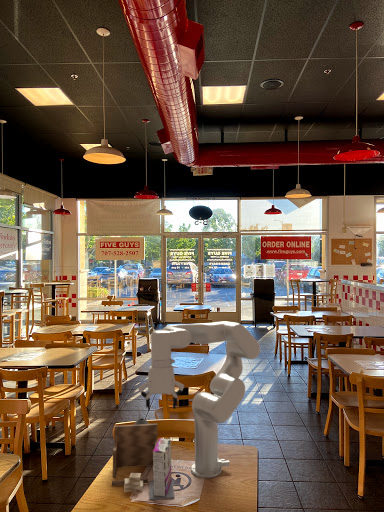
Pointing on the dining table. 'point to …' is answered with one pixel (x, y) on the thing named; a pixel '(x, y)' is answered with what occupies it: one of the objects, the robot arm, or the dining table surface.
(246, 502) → the dining table surface
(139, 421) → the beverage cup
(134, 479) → the offcut stack
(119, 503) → the dining table surface
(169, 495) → the mat
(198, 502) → the dining table surface
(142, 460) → the stand
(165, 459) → the candy bar box
